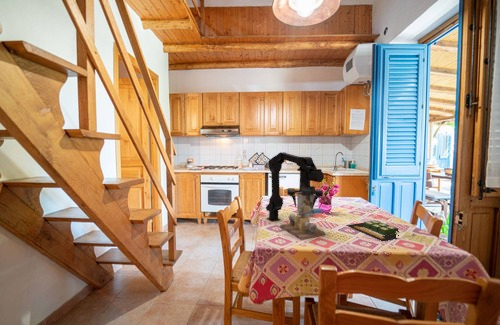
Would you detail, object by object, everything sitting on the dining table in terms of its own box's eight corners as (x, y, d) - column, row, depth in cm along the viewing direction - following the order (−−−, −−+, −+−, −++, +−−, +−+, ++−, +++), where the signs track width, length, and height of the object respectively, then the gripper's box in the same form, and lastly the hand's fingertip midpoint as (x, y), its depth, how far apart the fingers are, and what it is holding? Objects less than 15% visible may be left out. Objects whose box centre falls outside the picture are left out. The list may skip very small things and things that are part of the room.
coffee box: (308, 214, 161) (309, 191, 160) (313, 216, 155) (314, 193, 154) (296, 215, 159) (297, 192, 158) (301, 217, 153) (301, 194, 152)
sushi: (345, 226, 138) (346, 220, 138) (376, 222, 147) (376, 216, 147) (383, 243, 115) (383, 235, 115) (416, 236, 124) (416, 229, 124)
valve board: (279, 227, 134) (280, 211, 134) (301, 223, 141) (302, 208, 140) (301, 240, 116) (301, 222, 116) (325, 235, 123) (325, 218, 122)
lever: (301, 216, 126) (301, 212, 126) (298, 214, 129) (298, 211, 129) (322, 213, 132) (322, 209, 132) (318, 211, 135) (318, 208, 135)
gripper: (288, 181, 118) (287, 210, 120) (325, 182, 117) (324, 212, 118) (287, 178, 130) (286, 205, 131) (321, 179, 128) (320, 206, 129)
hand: (303, 207), depth 127 cm, fingers open, 9 cm apart
